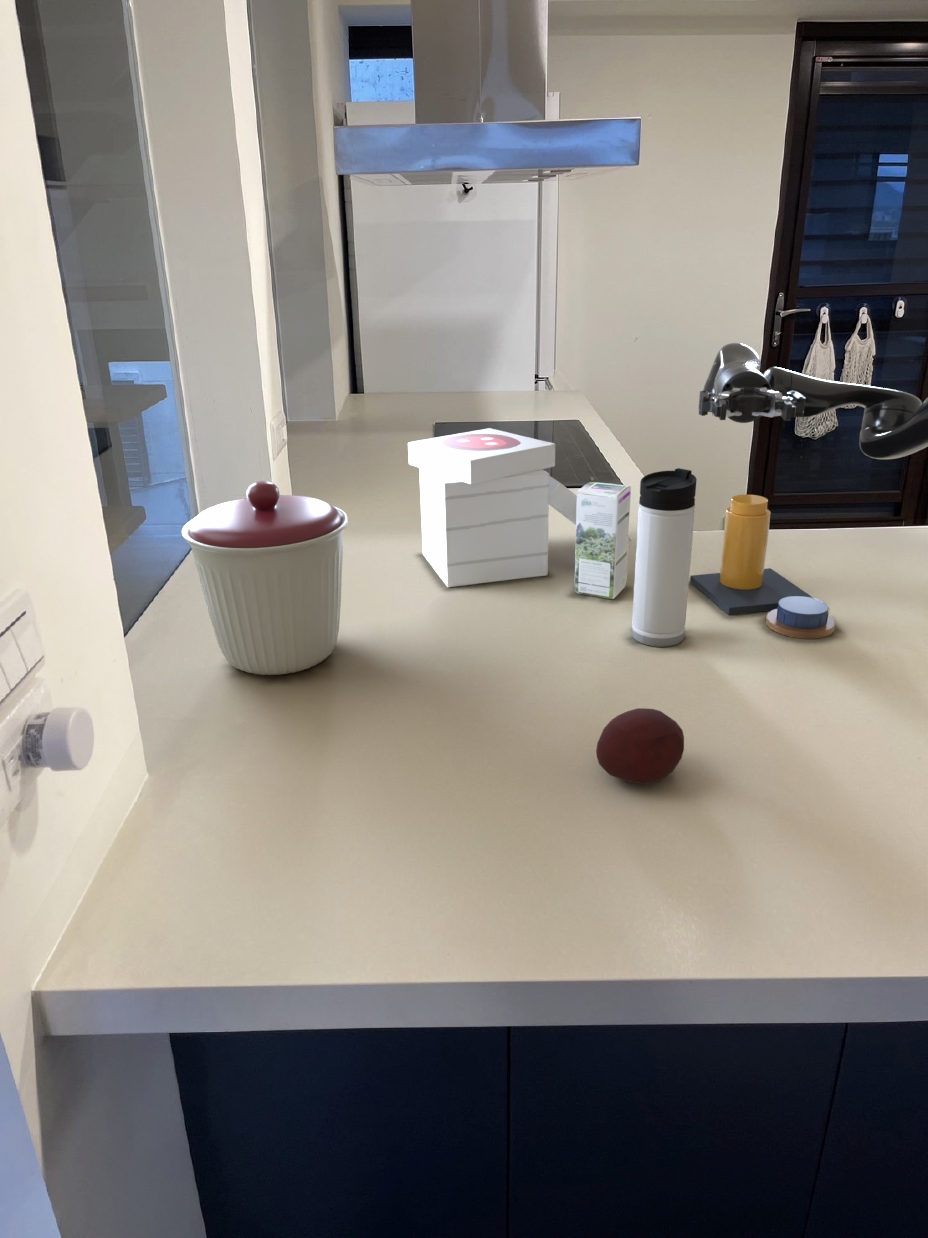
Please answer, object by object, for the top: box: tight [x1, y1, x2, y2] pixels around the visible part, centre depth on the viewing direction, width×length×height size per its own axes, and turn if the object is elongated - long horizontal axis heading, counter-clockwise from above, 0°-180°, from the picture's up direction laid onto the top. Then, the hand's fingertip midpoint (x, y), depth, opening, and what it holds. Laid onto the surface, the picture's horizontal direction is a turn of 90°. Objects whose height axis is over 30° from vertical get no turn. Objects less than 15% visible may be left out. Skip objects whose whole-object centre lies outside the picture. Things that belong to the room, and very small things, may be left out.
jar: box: [719, 494, 772, 590], centre depth 120 cm, size 6×6×12 cm
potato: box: [595, 707, 685, 785], centre depth 81 cm, size 7×8×6 cm
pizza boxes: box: [407, 427, 633, 588], centre depth 132 cm, size 19×30×18 cm, turn 106°
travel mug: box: [631, 467, 697, 648], centre depth 106 cm, size 6×7×20 cm
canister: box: [181, 480, 350, 676], centre depth 103 cm, size 18×18×21 cm
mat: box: [689, 567, 816, 616], centre depth 121 cm, size 12×12×1 cm
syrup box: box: [574, 481, 632, 600], centre depth 121 cm, size 6×6×14 cm
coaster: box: [765, 608, 836, 640], centre depth 112 cm, size 8×8×1 cm
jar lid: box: [777, 596, 830, 629], centre depth 111 cm, size 6×6×2 cm
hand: (756, 412), depth 123 cm, fingers open, 8 cm apart
